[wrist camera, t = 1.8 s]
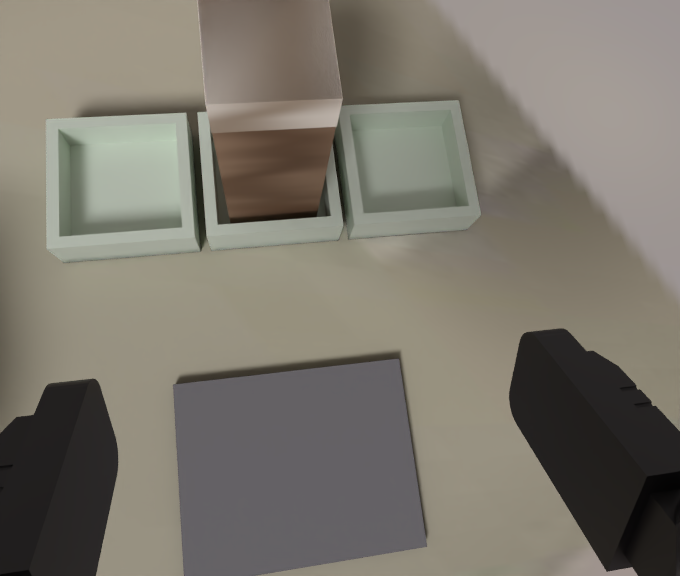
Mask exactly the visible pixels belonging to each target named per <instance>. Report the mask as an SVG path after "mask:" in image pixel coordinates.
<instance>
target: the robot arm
mask: <svg viewBox="0 0 680 576" xmlns="http://www.w3.org/2000/svg"><path fill="white" fill-rule="evenodd" d="M509 401H510V408H511V412H512V415H513V418H514V420H515V422H516V424H517V425H518V427H519V429H520V430H521V432H522V434H523V435H524V437H525V439H526V440H527V442H528V443H529V445H530V447H531V448H532V450H533V452H534V453H535V455H536V457H537V458H538V460H539V461H540V463H541V465H542V466H543V468H544V470H545V471H546V473H547V475H548V476H549V478H550V479H551V481H552V483H553V484H554V486H555V488H556V489H557V491H558V493H559V494H560V496H561V497H562V499H563V501H564V502H565V504H566V506H567V507H568V509H569V511H570V512H571V514H572V515H573V517H574V519H575V520H576V522H577V524H578V525H579V527H580V529H581V530H582V532H583V533H584V535H585V537H586V538H587V540H588V542H589V543H590V545H591V547H592V548H593V550H594V551H595V553H596V555H597V556H598V558H599V560H600V561H601V563H602V565H603V566H604V568H605V569H606V571H613V570H618V569H624V568H630V567H633V569H634V570H635V572H636V573H637V575H638V576H680V431H679V430H678V429H677V428H676V427H675V426H674V425H673V424H672V423H671V422H670V421H669V420H668V419H667V417H666V416H665V415H664V414H663V413H662V412H661V411H660V410H659V409H658V408H657V407H656V406H652V404H651V400H650V399H649V398H648V397H647V396H646V395H645V394H644V393H643V392H642V391H641V390H637V388H636V385H635V383H634V382H633V381H632V380H631V379H630V378H629V377H628V376H627V375H626V374H625V373H624V372H623V371H622V370H621V369H620V368H619V366H617V365H615V364H614V363H612V362H610V361H609V360H607V359H606V358H604V357H602V356H601V355H599V354H597V353H596V352H594V351H586V350H585V349H584V348H583V347H582V346H581V345H580V344H579V342H578V341H577V340H576V339H575V338H574V337H573V336H572V335H571V334H570V333H569V332H568V331H567V330H566V329H551V330H542V331H533V332H526V333H524V334H523V335H522V337H521V339H520V343H519V348H518V352H517V357H516V362H515V367H514V372H513V377H512V381H511V386H510V392H509ZM117 471H118V448H117V442H116V438H115V434H114V431H113V428H112V424H111V421H110V418H109V414H108V411H107V408H106V404H105V401H104V398H103V395H102V391H101V388H100V385H99V383H98V381H97V380H96V379H86V380H77V381H68V382H59V383H51V384H48V385H47V386H46V388H45V390H44V392H43V394H42V396H41V399H40V401H39V404H38V406H37V408H36V411H35V413H34V415H31V416H22V417H16V418H15V419H14V420H13V421H12V422H11V423H10V424H9V425H8V426H7V427H6V428H5V429H4V430H3V431H2V432H1V433H0V576H96V572H97V567H98V562H99V558H100V553H101V548H102V543H103V539H104V534H105V529H106V524H107V520H108V515H109V510H110V505H111V501H112V496H113V491H114V487H115V482H116V477H117Z"/></svg>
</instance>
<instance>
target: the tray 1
mask: <svg viewBox="0 0 680 576" xmlns="http://www.w3.org/2000/svg"><path fill="white" fill-rule="evenodd" d="M46 229H47V250H48V251H50V252H51V253H52V254H54V255H55V256H56V257H57V258H59V259H60V260H61V261H62V262H64V263H68V262H80V261H92V260H104V259H117V258H129V257H141V256H153V255H165V254H178V253H190V252H201V251H200V237H199V223H198V209H197V195H196V181H195V167H194V153H193V139H192V132H191V129H190V125H189V121H188V118H187V114H186V113H169V114H147V115H125V116H103V117H82V118H60V119H46Z"/></svg>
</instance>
